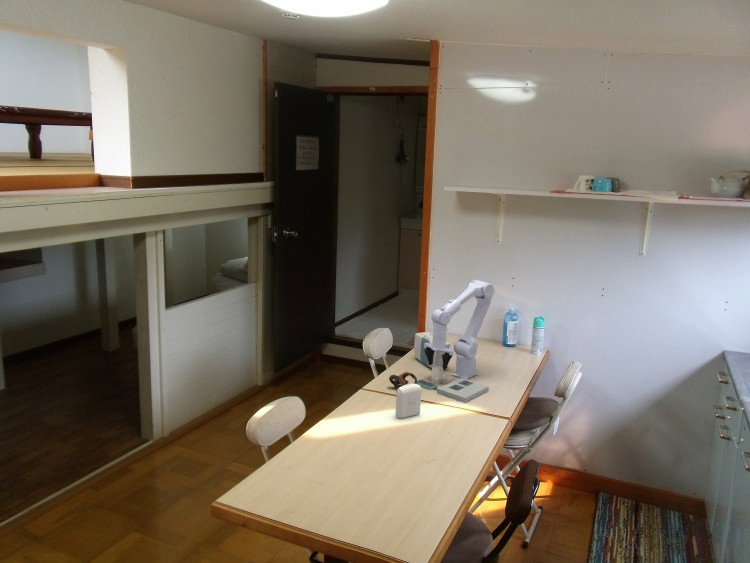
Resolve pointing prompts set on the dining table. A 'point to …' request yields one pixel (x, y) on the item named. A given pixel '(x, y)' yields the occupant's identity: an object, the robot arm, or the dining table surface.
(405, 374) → the brown curved looped piece
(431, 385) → the phone with cable
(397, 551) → the dining table surface
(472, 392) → the outlet plate
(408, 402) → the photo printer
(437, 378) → the charger plug
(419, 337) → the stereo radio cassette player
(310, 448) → the dining table surface
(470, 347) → the robot arm
